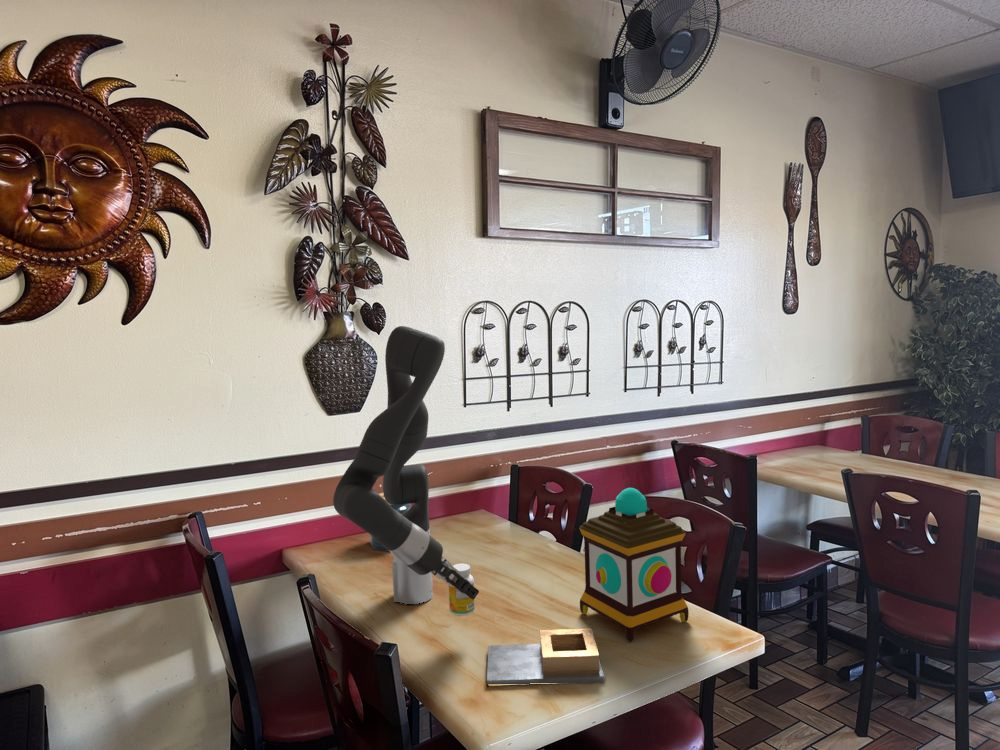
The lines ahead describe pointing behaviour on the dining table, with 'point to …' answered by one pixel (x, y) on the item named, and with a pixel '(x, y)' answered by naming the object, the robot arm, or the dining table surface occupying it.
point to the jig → (547, 659)
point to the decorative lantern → (633, 565)
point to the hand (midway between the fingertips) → (469, 589)
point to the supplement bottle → (461, 594)
